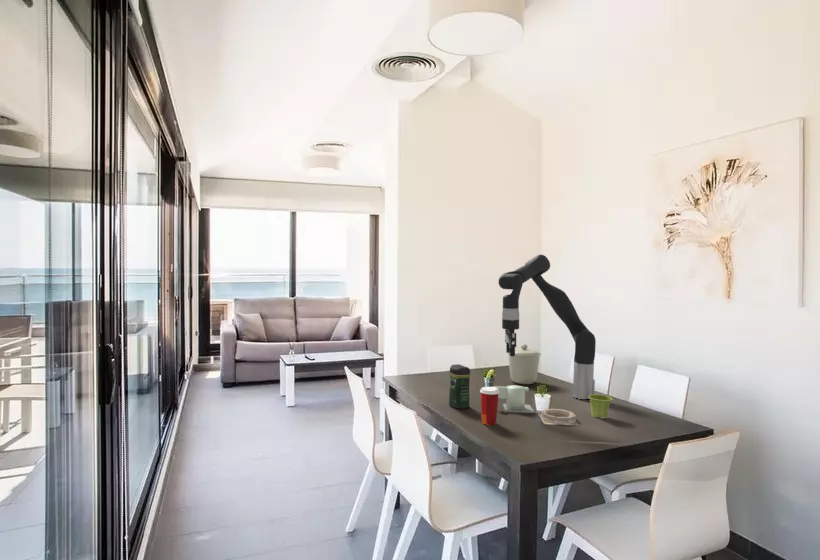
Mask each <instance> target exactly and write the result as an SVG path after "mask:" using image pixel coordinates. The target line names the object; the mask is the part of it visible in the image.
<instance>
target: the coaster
mask: <svg viewBox="0 0 820 560" xmlns="http://www.w3.org/2000/svg"><path fill="white" fill-rule="evenodd" d="M502 407H503V409H504V411H505V413H506V414H508V413H520V414H522V413H524V414H528V413H529V414H535V413H536V412H535V411H534V409H533V408H532V406H531V405H530V404H525V409H523V410H511V409H508V408H506V403H502Z"/></svg>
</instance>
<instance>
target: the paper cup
mask: <svg viewBox="0 0 820 560" xmlns="http://www.w3.org/2000/svg"><path fill="white" fill-rule="evenodd" d="M479 392H480V410H481V423H483V424H482V425H484V424H486V425H485V426H490V425H491V426H495V425H496V424H497V416H498V405H499V404H498V403H499V399H498V395H499V390H498V388H495V387H493V386H484V387H483V386H482V387H481V388H480V390H479ZM494 424H495V425H494Z"/></svg>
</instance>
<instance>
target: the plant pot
mask: <svg viewBox="0 0 820 560" xmlns="http://www.w3.org/2000/svg"><path fill="white" fill-rule="evenodd" d="M588 397H589V399H590V400H589V402H590V410H591V411H590V413H591V414H590V415H591V417H593V416H594V417H593V418H596V417H607V418H608V415H609V409H610V405H611V402H612V401H613V398H612V397H610V396H608V395H603V394H594V395H589V396H588Z"/></svg>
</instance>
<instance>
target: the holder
mask: <svg viewBox="0 0 820 560" xmlns="http://www.w3.org/2000/svg"><path fill="white" fill-rule="evenodd" d="M537 415H538V417H539V419H540V420H541V421H542V423H543V424H544V425H555V426H557V425H558V426H559V425H560V426H578V425H580V423H578V421H577V415H576V414H575V413H574V411H570V410H567V409H566V410H565V409H562V408H545V409H543V410H540V413H537Z"/></svg>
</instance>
